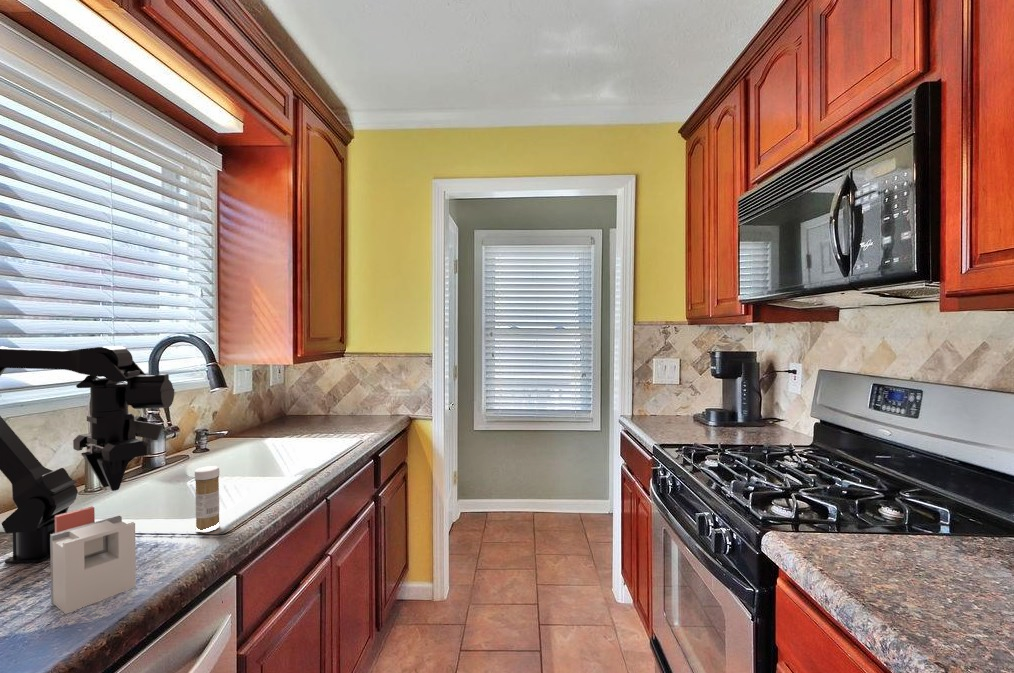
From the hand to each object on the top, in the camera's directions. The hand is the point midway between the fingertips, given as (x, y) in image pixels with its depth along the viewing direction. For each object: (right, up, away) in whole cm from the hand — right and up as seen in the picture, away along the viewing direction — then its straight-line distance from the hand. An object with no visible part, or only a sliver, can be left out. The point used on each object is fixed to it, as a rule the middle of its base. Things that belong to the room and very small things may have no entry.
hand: (110, 488), depth 94 cm
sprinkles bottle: (+13, -12, +9) cm, 20 cm away
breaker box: (+11, -12, -16) cm, 23 cm away
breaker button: (+7, -7, -14) cm, 17 cm away
